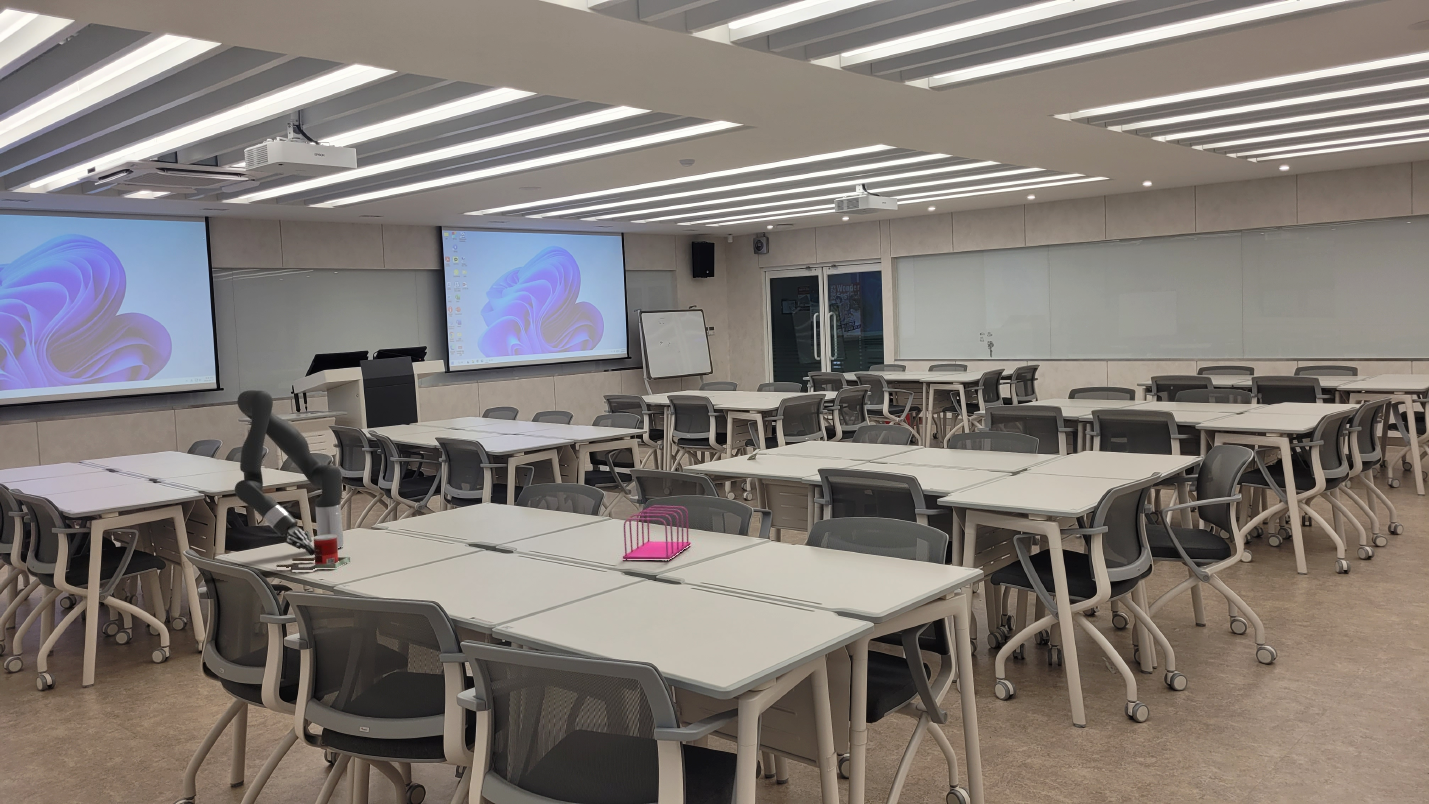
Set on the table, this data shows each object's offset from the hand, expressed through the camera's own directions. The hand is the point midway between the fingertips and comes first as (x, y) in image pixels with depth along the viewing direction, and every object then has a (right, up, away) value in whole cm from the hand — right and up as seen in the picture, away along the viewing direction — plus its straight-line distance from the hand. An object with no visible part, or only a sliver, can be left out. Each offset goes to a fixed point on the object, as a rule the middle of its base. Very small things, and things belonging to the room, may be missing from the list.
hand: (314, 553), depth 352 cm
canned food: (+5, -5, 0) cm, 7 cm away
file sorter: (+124, 0, 0) cm, 124 cm away
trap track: (-1, -5, +1) cm, 5 cm away
